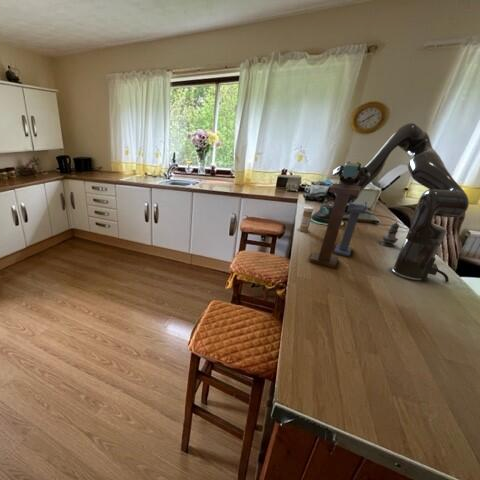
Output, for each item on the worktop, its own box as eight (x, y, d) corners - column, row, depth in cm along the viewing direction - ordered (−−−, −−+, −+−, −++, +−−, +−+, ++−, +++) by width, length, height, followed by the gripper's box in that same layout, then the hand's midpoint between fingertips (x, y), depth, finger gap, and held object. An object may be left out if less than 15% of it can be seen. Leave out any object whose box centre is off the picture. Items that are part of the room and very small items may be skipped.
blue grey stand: (350, 249, 120) (367, 201, 111) (349, 257, 113) (366, 206, 104) (336, 246, 124) (350, 199, 115) (333, 253, 116) (348, 204, 107)
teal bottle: (357, 171, 107) (360, 161, 105) (354, 177, 93) (358, 166, 91) (345, 170, 109) (348, 161, 107) (341, 176, 95) (345, 165, 93)
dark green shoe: (353, 224, 151) (321, 225, 150) (331, 229, 169) (302, 230, 168) (350, 199, 152) (318, 201, 151) (328, 207, 171) (299, 208, 170)
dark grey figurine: (382, 245, 125) (391, 222, 120) (378, 241, 130) (386, 219, 125) (397, 247, 123) (407, 224, 118) (392, 243, 128) (401, 220, 123)
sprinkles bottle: (309, 231, 143) (315, 207, 137) (305, 232, 140) (311, 209, 135) (301, 228, 146) (307, 205, 141) (297, 230, 144) (302, 207, 139)
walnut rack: (337, 260, 110) (360, 186, 98) (334, 269, 103) (359, 190, 90) (313, 254, 115) (333, 183, 103) (309, 262, 108) (330, 186, 95)
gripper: (333, 171, 119) (335, 154, 105) (370, 174, 112) (378, 156, 97) (329, 186, 119) (330, 171, 105) (365, 190, 111) (372, 174, 97)
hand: (353, 164), depth 101 cm, fingers closed on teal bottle, 2 cm apart
